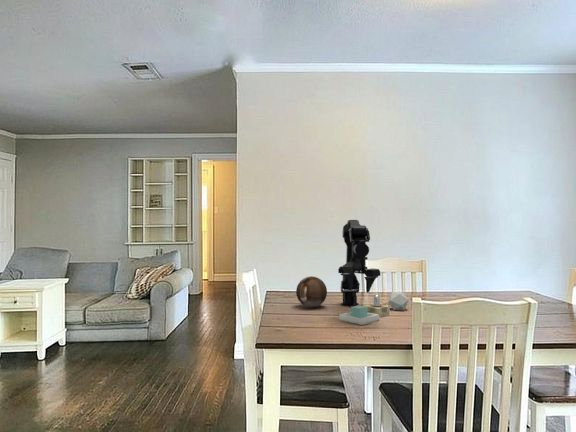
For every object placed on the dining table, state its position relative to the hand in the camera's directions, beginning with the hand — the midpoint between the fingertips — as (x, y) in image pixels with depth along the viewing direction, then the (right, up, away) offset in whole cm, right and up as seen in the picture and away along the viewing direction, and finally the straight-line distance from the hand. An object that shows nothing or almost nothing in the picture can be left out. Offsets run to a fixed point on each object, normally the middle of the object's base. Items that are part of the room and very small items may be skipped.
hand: (358, 291), depth 201 cm
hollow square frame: (+10, -12, +10) cm, 19 cm away
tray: (0, -13, 0) cm, 12 cm away
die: (+22, -12, +22) cm, 34 cm away
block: (0, -12, 0) cm, 12 cm away
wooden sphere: (-19, -13, +29) cm, 37 cm away
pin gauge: (+10, -12, +10) cm, 19 cm away
